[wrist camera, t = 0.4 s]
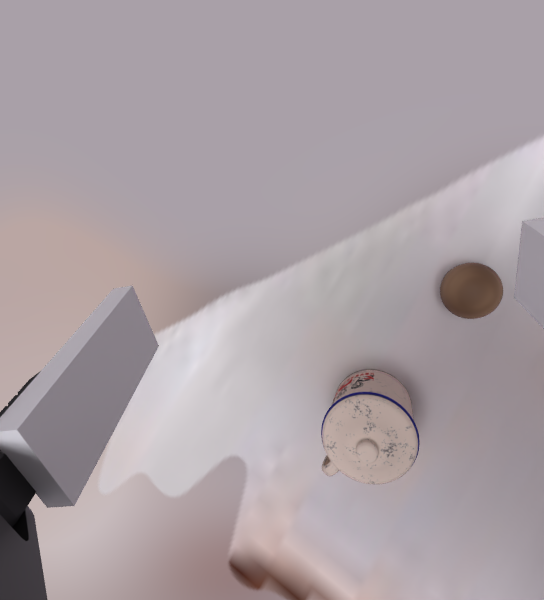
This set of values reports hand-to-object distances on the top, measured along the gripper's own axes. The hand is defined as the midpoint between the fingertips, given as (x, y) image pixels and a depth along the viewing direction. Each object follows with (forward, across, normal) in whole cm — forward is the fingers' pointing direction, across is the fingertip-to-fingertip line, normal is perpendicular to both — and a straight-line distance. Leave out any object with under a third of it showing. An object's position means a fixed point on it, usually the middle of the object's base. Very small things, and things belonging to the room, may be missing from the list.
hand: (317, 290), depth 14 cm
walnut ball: (+23, -14, +15) cm, 31 cm away
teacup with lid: (+22, -2, +29) cm, 36 cm away
